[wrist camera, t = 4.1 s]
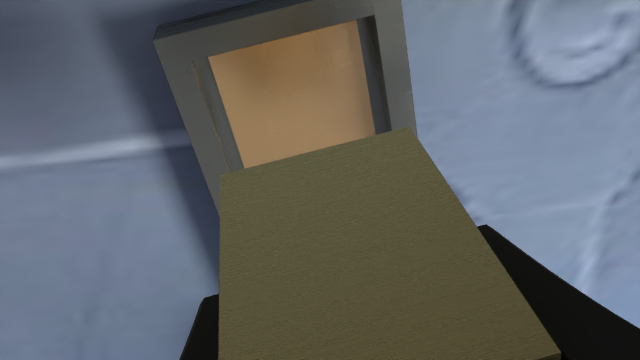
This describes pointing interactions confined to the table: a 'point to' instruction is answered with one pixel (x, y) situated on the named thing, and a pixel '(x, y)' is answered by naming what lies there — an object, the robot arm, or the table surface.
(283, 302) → the tan hollow block
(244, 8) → the rail
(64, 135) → the table surface
